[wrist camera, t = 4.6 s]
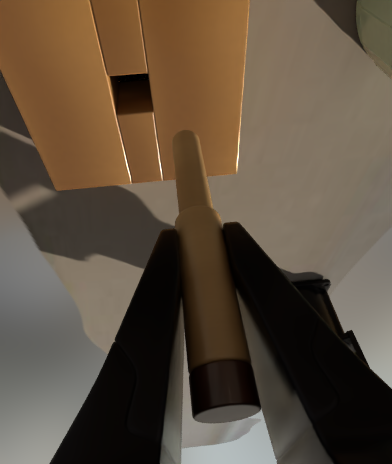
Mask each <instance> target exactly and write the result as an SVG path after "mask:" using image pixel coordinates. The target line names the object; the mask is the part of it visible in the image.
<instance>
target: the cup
mask: <svg viewBox="0 0 392 464" xmlns="http://www.w3.org/2000/svg"><path fill="white" fill-rule="evenodd" d="M356 24H357V31H358V35H359V38H360V42H361V44H362V46H363V48H364V50H365V51H366V53H367V54H368V55H369V57H370V58H371V59H372V60H373V61H374V63H375V64H376V66H378V67H379V68H380V69H381V70H382V71H383V72H384V73H385V74H386V75H387V76H389V77H390V78H391V79H392V0H357V5H356Z"/></svg>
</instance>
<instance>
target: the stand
mask: <svg viewBox="0 0 392 464" xmlns="http://www.w3.org/2000/svg"><path fill="white" fill-rule="evenodd" d="M249 4H250V0H0V71H1V73H2V75H3V77H4V79H5V81H6V84H7V86H8V88H9V90H10V92H11V94H12V97H13V99H14V101H15V103H16V105H17V107H18V110H19V112H20V114H21V116H22V118H23V120H24V123H25V125H26V127H27V129H28V131H29V133H30V136H31V138H32V140H33V142H34V144H35V146H36V148H37V151H38V153H39V155H40V157H41V159H42V161H43V164H44V166H45V168H46V170H47V172H48V174H49V177H50V179H51V181H52V183H53V185H54V187H55V190H56V191H59V190H70V189H80V188H91V187H101V186H111V185H122V184H131V183H142V182H153V181H162V180H164V181H165V180H175V179H176V178H175V168H174V159H173V149H172V139H173V137H174V136H175V135H176V134H177V133H178V132H180V131H182V130H190V131H192V132H194V133H195V134H197V136H198V137H199V141H200V146H201V151H202V156H203V161H204V166H205V171H206V176H217V175H227V174H236V173H237V165H238V151H239V138H240V124H241V111H242V98H243V84H244V71H245V57H246V44H247V30H248V17H249ZM142 73H148V76H149V80H143V81H131V82H120V83H119V80H118V75H130V74H142Z"/></svg>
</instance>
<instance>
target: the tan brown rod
mask: <svg viewBox="0 0 392 464" xmlns="http://www.w3.org/2000/svg"><path fill="white" fill-rule="evenodd" d="M172 149H173V159H174V168H175V178H176V188H177V197H178V207H179V215H178V217H177V218H176V221H175V229H176V230H177V234H178V245H179V255H180V266H181V295H182V307H183V318H184V329H185V340H186V351H187V362H188V372H189V374H190V375H189V384H190V395H191V406H192V416H193V418H194V420H195V421H198V422H202V423H225V422H232V421H237V420H241V419H245V418H248V417H250V416H253V415H255V414H256V413H258V412H259V411H260V410H261V403H260V399H259V394H258V389H257V385H256V380H255V375H254V371H253V367H252V366H251V364H252V362H251V357H250V352H249V348H248V343H247V338H246V334H245V329H244V325H243V320H242V315H241V311H240V306H239V301H238V297H237V292H236V288H235V283H234V279H233V274H232V270H231V266H230V261H229V256H228V252H227V247H226V242H225V238H224V233H223V227H222V223H221V218H220V215H219V214H218V213H217V212H216V211H215V210H214V209H213V205H212V200H211V195H210V191H209V186H208V181H207V176H206V171H205V166H204V161H203V156H202V151H201V146H200V141H199V137H198V136H197V134H195V133H194V132H192V131H190V130H182V131H180V132H178V133H177V134H176V135H175V136H174V137H173V139H172Z"/></svg>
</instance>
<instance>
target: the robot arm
mask: <svg viewBox="0 0 392 464" xmlns="http://www.w3.org/2000/svg"><path fill="white" fill-rule="evenodd" d="M223 233H224V238H225V242H226V247H227V252H228V256H229V261H230V266H231V270H232V274H233V279H234V283H235V288H236V292H237V297H238V301H239V306H240V311H241V315H242V320H243V325H244V329H245V334H246V338H247V343H248V348H249V352H250V357H251V362H252V364H251V366H252V367H253V371H254V375H255V380H256V385H257V389H258V394H259V399H260V403H261V408H262V412H263V415H264V418H265V422H266V425H267V429H268V433H269V436H270V440H271V443H272V447H273V451H274V454H275V457H276V460H277V464H392V389H391V388H390V387H389V386H388V385H387V384H386V383H385V382H384V381H383V380H382V379H381V378H380V377H379V376H378V375H377V374H375V373H374V372H373V371H372V370H371V369H370V367H369V365H368V363H367V361H366V359H365V357H364V355H363V352H362V350H361V348H360V346H359V344H358V342H357V340H356V337H355V335H354V333H353V331H352V330H350V331H347V332H346V333H344V331H343V329H342V327H341V324H340V322H339V319H338V317H337V314H336V312H335V310H334V307H333V305H332V303H331V300H330V298H329V295H328V293H327V291H328V289H329V287H330V285H331V283H330V280H328V279H325V280H316V281H307V282H298V283H291V282H290V281H289V279H288V278H287V277H286V276H285V275H284V274H283V273H282V271H281V270H280V269H279V268H278V267H277V266H276V264H275V263H274V262H273V261H272V260H271V259H270V258H269V256H268V255H267V254H266V253H265V252H264V251H263V250H262V248H261V247H260V246H259V245H258V244H257V243H256V241H255V240H254V239H253V238H252V237H251V236H250V235H249V233H248V232H247V231H246V230H245V229H244V228H243V227H242V225H241V224H240V223H239V222H229V223H224V224H223ZM183 364H184V318H183V307H182V295H181V266H180V255H179V245H178V234H177V230H176V229H175V228H173V229H164V230H162V231H161V232H160V234H159V237H158V239H157V241H156V244H155V246H154V248H153V251H152V253H151V255H150V258H149V260H148V262H147V265H146V267H145V270H144V272H143V274H142V277H141V279H140V281H139V284H138V286H137V288H136V291H135V293H134V295H133V298H132V300H131V302H130V305H129V307H128V309H127V312H126V314H125V316H124V319H123V321H122V323H121V326H120V328H119V330H118V333H117V335H116V337H115V342H113V344H112V346H111V349H110V351H109V353H108V356H107V358H106V360H105V363H104V365H103V367H102V369H101V371H100V373H99V375H98V377H97V379H96V381H95V383H94V385H93V387H92V389H91V391H90V393H89V395H88V397H87V398H86V400H85V402H84V404H83V406H82V407H81V409H80V411H79V413H78V415H77V416H76V418H75V420H74V421H73V423H72V425H71V427H70V429H69V431H68V432H67V434H66V436H65V437H64V439H63V441H62V443H61V444H60V446H59V448H58V450H57V452H56V453H55V455H54V457H53V458H52V460H51V462H50V464H181V444H182V404H183Z"/></svg>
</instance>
